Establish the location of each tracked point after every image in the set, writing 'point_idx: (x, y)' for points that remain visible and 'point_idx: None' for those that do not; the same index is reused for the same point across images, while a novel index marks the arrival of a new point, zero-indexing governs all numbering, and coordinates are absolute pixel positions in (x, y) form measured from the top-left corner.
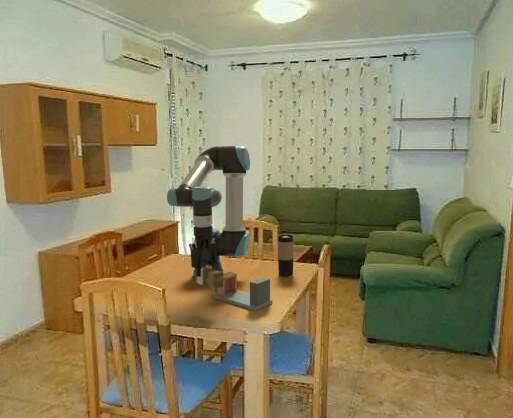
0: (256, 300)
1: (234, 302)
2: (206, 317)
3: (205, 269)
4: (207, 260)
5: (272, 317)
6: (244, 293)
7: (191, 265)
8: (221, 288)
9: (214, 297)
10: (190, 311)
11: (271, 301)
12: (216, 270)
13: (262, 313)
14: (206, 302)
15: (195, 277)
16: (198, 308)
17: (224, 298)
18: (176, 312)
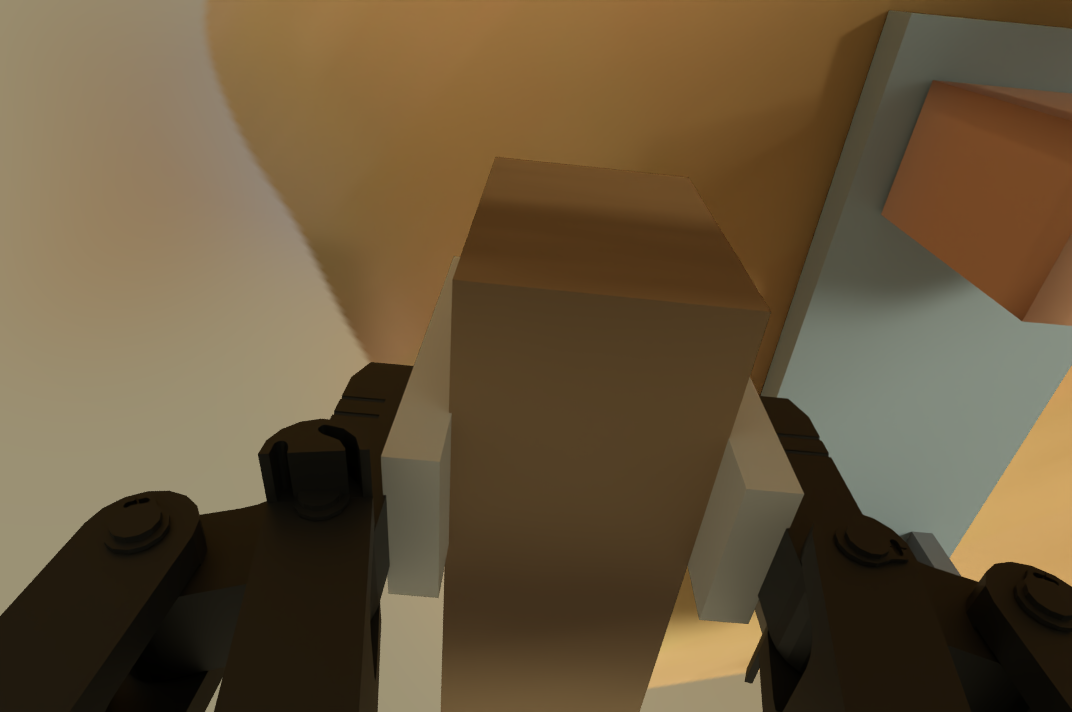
0: (759, 608)
1: (774, 383)
2: (380, 361)
3: (578, 521)
4: (818, 669)
5: (659, 655)
6: (1043, 347)
7: (62, 550)
8: (939, 214)
9: (872, 74)
10: (373, 136)
11: None
12: (637, 694)
13: (690, 597)
14: (693, 89)
15: (481, 199)
16: (491, 148)
17: (822, 258)
18: (238, 14)
